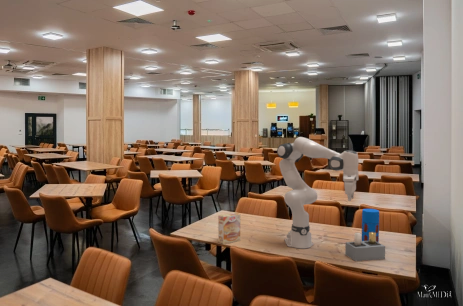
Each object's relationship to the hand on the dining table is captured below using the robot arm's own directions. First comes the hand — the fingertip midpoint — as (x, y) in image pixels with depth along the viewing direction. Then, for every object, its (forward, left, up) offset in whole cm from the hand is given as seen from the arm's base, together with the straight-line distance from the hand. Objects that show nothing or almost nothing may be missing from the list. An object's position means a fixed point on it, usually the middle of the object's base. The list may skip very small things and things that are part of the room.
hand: (350, 199), depth 226 cm
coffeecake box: (-49, -66, -37) cm, 90 cm away
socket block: (-1, +11, -37) cm, 38 cm away
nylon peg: (-1, +6, -30) cm, 30 cm away
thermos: (-18, +25, -37) cm, 48 cm away
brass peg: (-1, +16, -30) cm, 34 cm away
